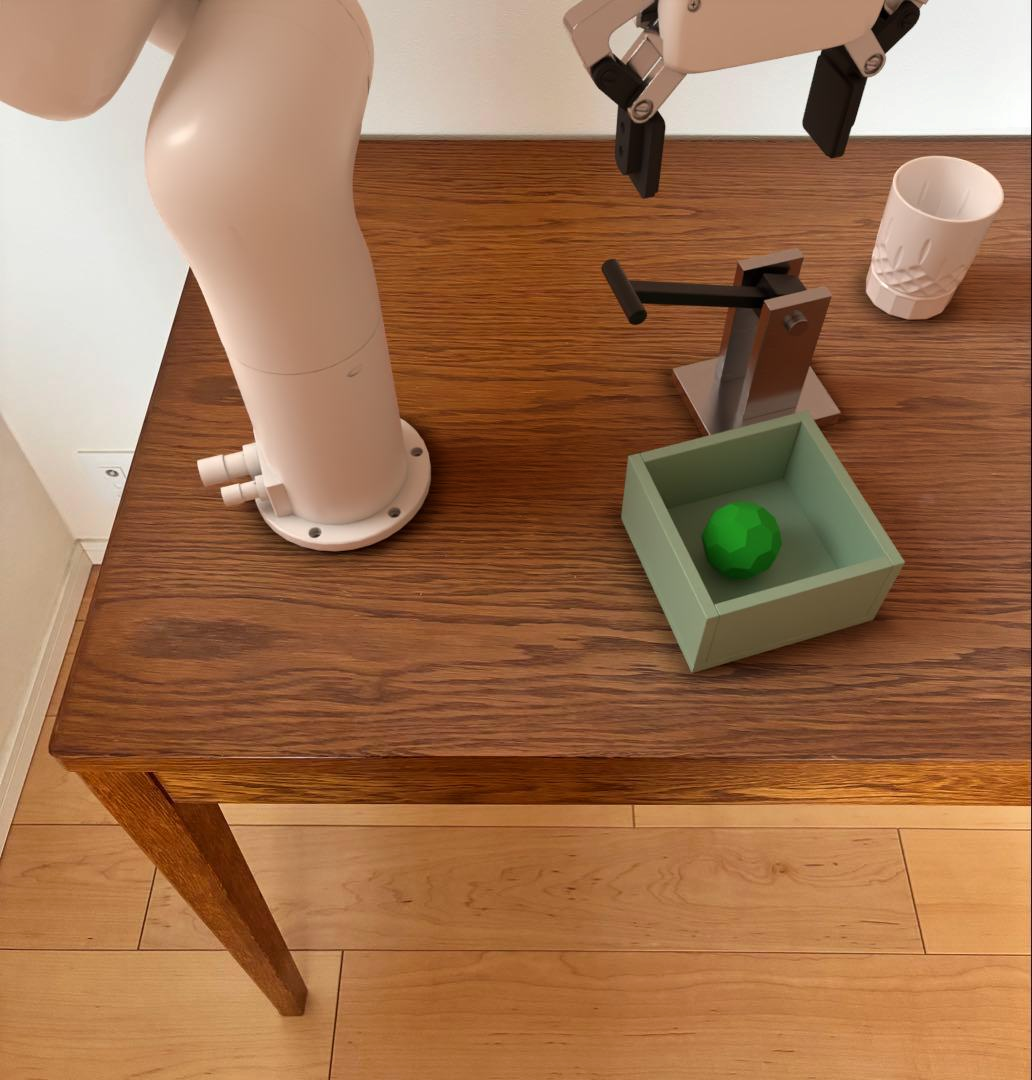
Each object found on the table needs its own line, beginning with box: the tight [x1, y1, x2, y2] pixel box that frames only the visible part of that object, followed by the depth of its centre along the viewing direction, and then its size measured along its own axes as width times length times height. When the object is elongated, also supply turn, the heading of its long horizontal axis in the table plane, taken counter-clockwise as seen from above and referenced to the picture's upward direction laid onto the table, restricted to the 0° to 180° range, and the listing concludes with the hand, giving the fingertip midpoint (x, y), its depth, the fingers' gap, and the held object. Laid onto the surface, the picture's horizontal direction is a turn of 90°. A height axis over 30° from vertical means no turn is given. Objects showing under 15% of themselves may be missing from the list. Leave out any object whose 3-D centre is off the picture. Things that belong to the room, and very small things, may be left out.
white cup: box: [865, 155, 1005, 320], centre depth 77 cm, size 8×8×10 cm
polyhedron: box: [701, 501, 782, 580], centre depth 63 cm, size 5×5×5 cm
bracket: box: [670, 247, 841, 437], centre depth 69 cm, size 10×8×12 cm
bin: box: [620, 411, 906, 674], centre depth 63 cm, size 13×13×7 cm
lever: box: [600, 258, 808, 326], centre depth 64 cm, size 14×5×2 cm, turn 107°
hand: (731, 161), depth 48 cm, fingers open, 9 cm apart
